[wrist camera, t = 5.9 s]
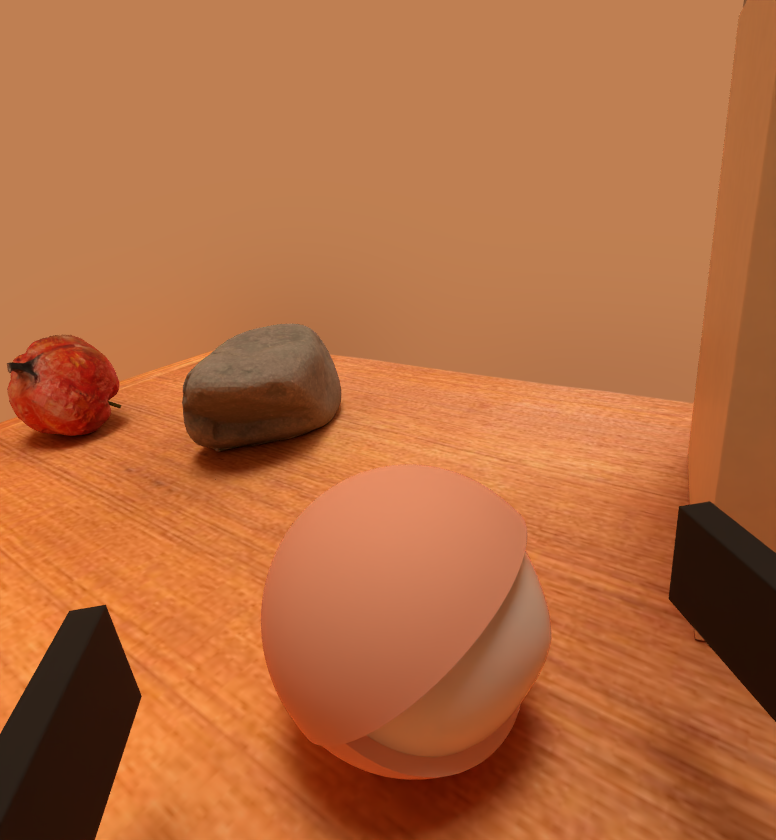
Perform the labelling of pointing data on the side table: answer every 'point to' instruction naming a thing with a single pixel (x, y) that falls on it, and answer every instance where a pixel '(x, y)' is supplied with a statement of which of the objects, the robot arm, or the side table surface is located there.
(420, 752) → the toy ball
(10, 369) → the pomegranate
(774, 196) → the stand
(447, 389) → the side table surface
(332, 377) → the stone
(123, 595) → the side table surface
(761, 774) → the side table surface
